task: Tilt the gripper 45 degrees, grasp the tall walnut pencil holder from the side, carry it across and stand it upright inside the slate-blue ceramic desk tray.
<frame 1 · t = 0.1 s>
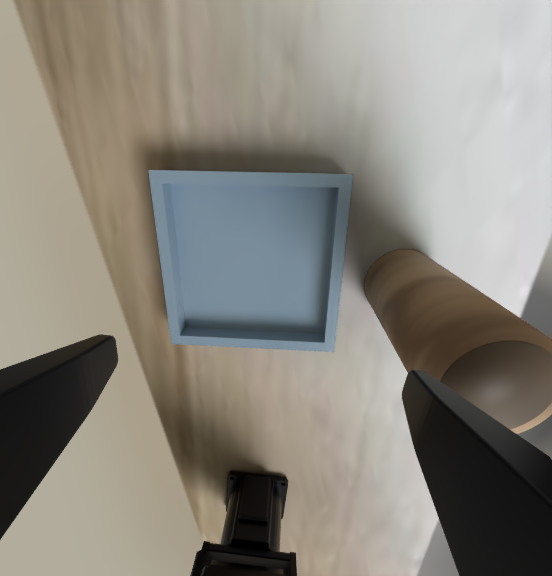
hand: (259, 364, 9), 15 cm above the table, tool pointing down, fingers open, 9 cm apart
pencil holder: (400, 283, 23), on the table
desk tray: (254, 261, 23), on the table
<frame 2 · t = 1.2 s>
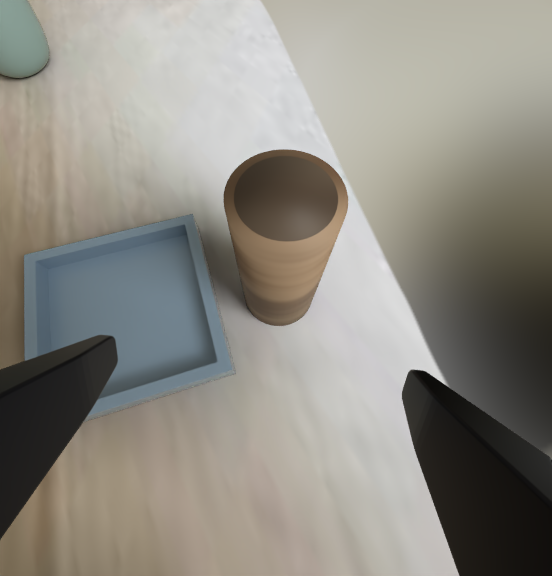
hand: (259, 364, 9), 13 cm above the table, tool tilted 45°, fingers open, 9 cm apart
cup: (27, 67, 34), on the table
pencil holder: (278, 293, 24), on the table
desk tray: (134, 317, 23), on the table
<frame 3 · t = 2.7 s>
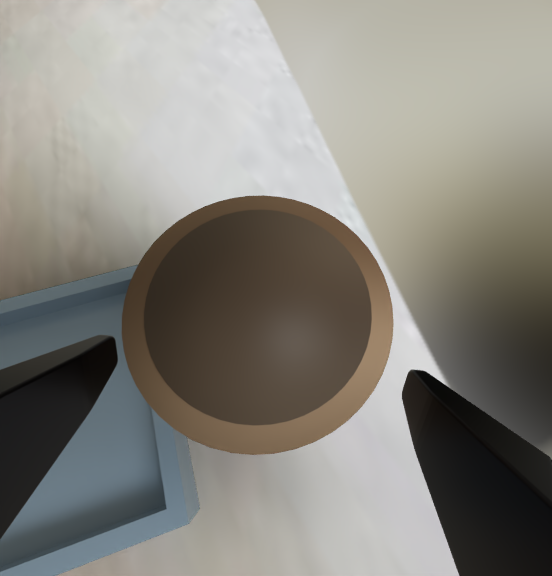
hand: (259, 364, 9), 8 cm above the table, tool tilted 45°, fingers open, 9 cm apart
pencil holder: (265, 374, 17), on the table
desk tray: (55, 415, 16), on the table
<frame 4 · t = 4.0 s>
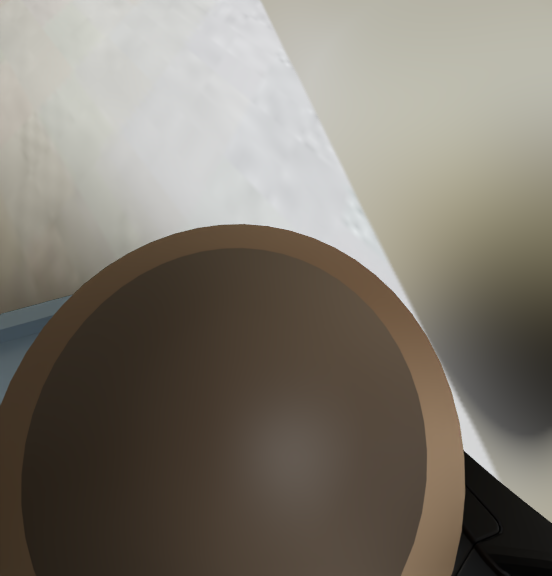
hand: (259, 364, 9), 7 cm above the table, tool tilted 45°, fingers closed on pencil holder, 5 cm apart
pencil holder: (259, 413, 15), on the table, touching gripper
desk tray: (10, 465, 14), on the table
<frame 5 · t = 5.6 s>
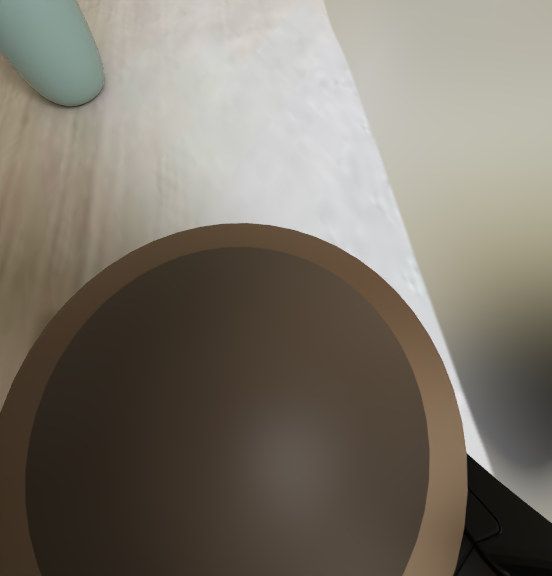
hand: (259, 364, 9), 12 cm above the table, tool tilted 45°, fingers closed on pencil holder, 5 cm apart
cup: (79, 94, 32), on the table
pencil holder: (260, 412, 15), point 6 cm above the table, touching gripper
when the fingers open (8 cm above the table, at t = 7.5 s): pencil holder drops 1 cm, resting on desk tray.
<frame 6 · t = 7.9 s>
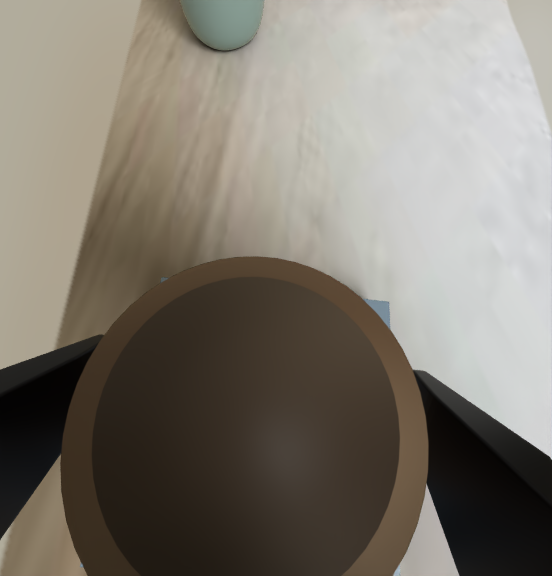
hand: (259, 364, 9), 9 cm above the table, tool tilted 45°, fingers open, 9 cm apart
cup: (226, 40, 30), on the table
pencil holder: (261, 414, 16), point 1 cm above the table, touching desk tray
desk tray: (260, 412, 16), on the table
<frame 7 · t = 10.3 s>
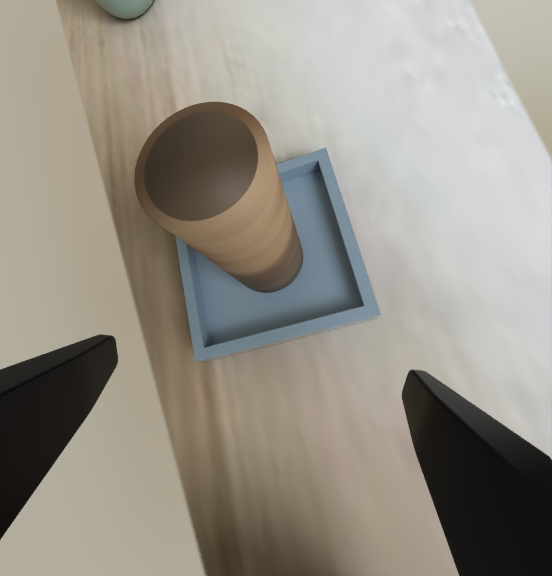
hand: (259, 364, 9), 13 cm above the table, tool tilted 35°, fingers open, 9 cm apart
cup: (137, 5, 33), on the table
pencil holder: (267, 257, 23), point 1 cm above the table, touching desk tray
desk tray: (269, 260, 24), on the table
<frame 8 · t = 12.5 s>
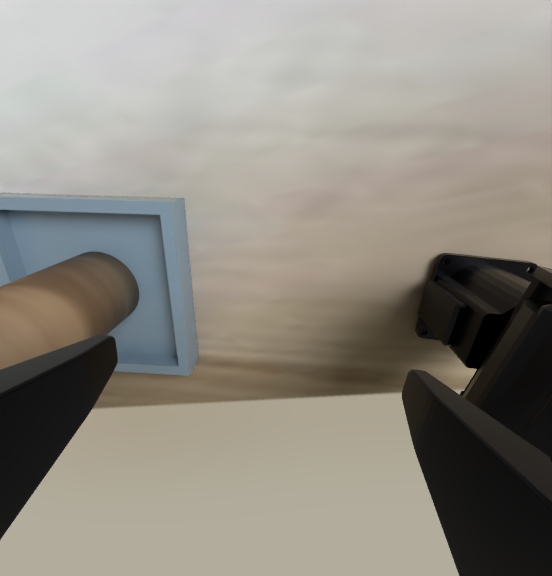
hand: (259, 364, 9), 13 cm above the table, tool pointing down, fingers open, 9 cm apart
pencil holder: (103, 287, 22), point 1 cm above the table, touching desk tray
desk tray: (108, 283, 23), on the table
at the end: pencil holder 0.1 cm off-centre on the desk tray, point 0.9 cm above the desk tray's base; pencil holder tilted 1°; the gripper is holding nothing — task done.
